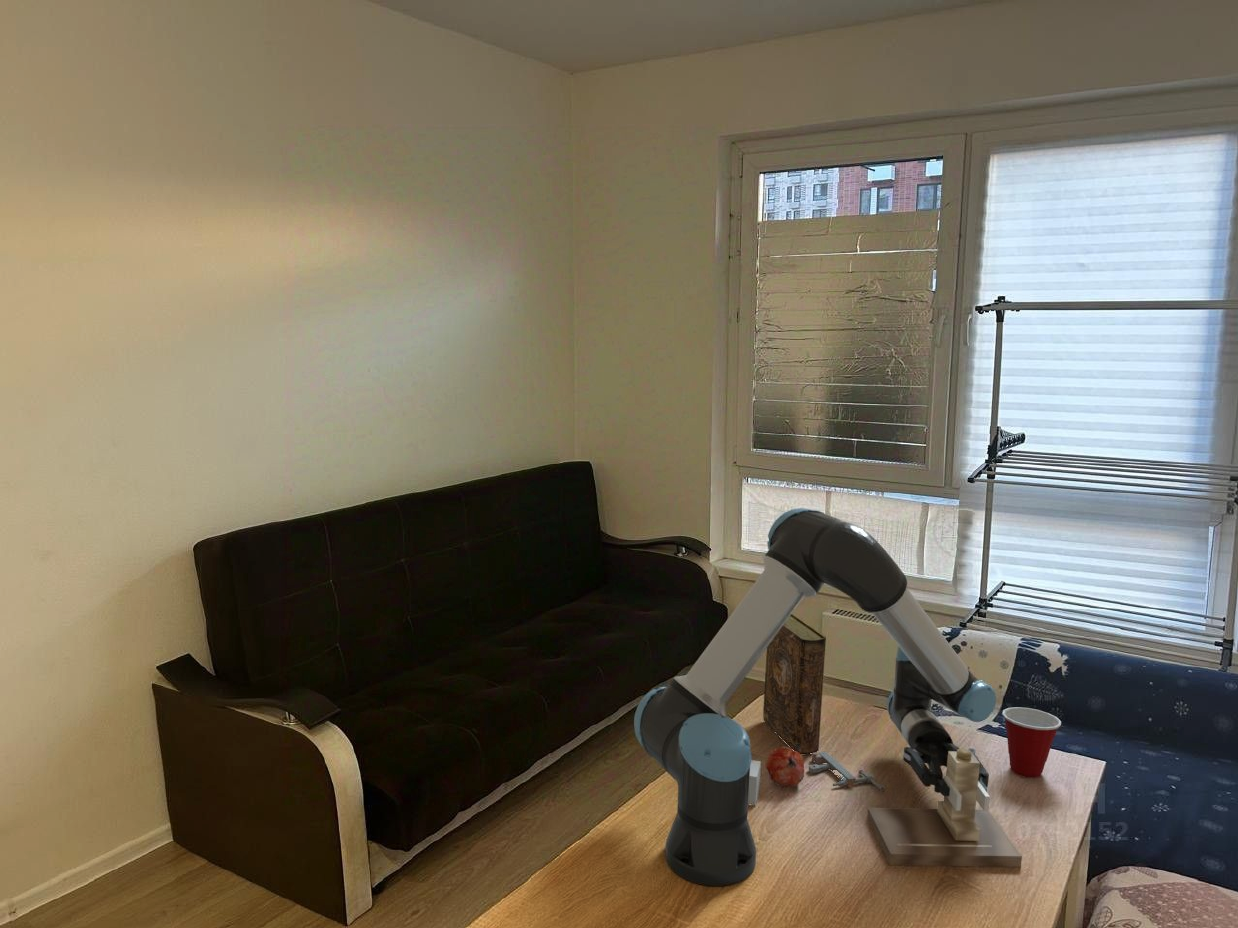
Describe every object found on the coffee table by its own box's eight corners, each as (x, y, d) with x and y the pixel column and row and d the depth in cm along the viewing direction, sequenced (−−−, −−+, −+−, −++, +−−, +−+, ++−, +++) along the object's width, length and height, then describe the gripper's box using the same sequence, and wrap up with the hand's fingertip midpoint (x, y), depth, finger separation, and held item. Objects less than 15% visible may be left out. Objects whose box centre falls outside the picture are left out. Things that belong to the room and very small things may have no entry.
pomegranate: (760, 786, 180) (770, 779, 172) (762, 749, 184) (772, 740, 175) (797, 792, 180) (809, 785, 171) (798, 754, 184) (810, 745, 175)
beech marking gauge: (955, 840, 156) (962, 764, 153) (937, 811, 165) (943, 739, 162) (978, 840, 156) (986, 764, 153) (959, 811, 165) (966, 739, 162)
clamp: (799, 754, 186) (841, 747, 189) (798, 764, 186) (840, 757, 189) (841, 792, 172) (885, 783, 175) (840, 802, 172) (884, 794, 175)
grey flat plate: (889, 864, 153) (890, 853, 152) (867, 817, 166) (867, 807, 166) (1020, 866, 153) (1022, 855, 152) (987, 819, 167) (988, 809, 166)
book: (821, 752, 190) (829, 638, 185) (798, 756, 188) (805, 641, 184) (784, 717, 205) (790, 612, 201) (762, 720, 204) (768, 614, 199)
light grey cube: (728, 785, 177) (729, 756, 176) (759, 790, 175) (761, 761, 174) (723, 801, 171) (724, 771, 170) (755, 806, 170) (757, 776, 168)
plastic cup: (1049, 761, 188) (1056, 707, 186) (1059, 788, 178) (1066, 731, 176) (993, 753, 191) (999, 700, 189) (1000, 779, 181) (1006, 723, 179)
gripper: (969, 755, 177) (1021, 824, 154) (881, 754, 177) (920, 822, 154) (972, 719, 176) (1025, 783, 153) (884, 718, 176) (924, 781, 153)
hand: (972, 803), depth 154 cm, fingers closed on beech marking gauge, 4 cm apart
